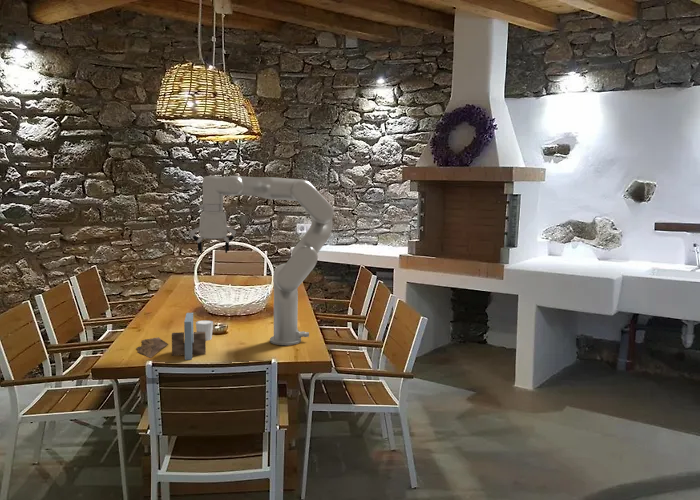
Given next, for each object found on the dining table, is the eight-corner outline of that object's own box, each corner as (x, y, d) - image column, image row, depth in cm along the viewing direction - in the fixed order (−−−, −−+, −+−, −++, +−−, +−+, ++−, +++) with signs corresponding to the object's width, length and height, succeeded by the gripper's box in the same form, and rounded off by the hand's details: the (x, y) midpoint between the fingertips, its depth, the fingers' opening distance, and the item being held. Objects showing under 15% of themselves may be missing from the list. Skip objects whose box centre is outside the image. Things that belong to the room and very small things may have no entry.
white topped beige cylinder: (196, 341, 245) (196, 324, 244) (195, 337, 251) (195, 320, 250) (213, 340, 247) (213, 323, 246) (212, 336, 253) (212, 319, 252)
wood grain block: (205, 352, 231) (205, 331, 230) (205, 354, 228) (205, 333, 227) (172, 353, 228) (172, 332, 227) (172, 355, 226) (171, 334, 225)
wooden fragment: (143, 339, 248) (143, 336, 247) (171, 338, 249) (171, 336, 249) (131, 359, 222) (131, 356, 222) (162, 358, 224) (162, 355, 224)
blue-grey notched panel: (191, 359, 222) (191, 321, 220) (184, 359, 222) (184, 322, 220) (193, 348, 236) (193, 312, 234) (187, 348, 235) (186, 312, 233)
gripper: (189, 209, 230) (189, 254, 232) (236, 209, 233) (236, 254, 235) (190, 207, 237) (190, 251, 239) (235, 208, 240) (236, 251, 242)
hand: (213, 252), depth 237 cm, fingers open, 9 cm apart
